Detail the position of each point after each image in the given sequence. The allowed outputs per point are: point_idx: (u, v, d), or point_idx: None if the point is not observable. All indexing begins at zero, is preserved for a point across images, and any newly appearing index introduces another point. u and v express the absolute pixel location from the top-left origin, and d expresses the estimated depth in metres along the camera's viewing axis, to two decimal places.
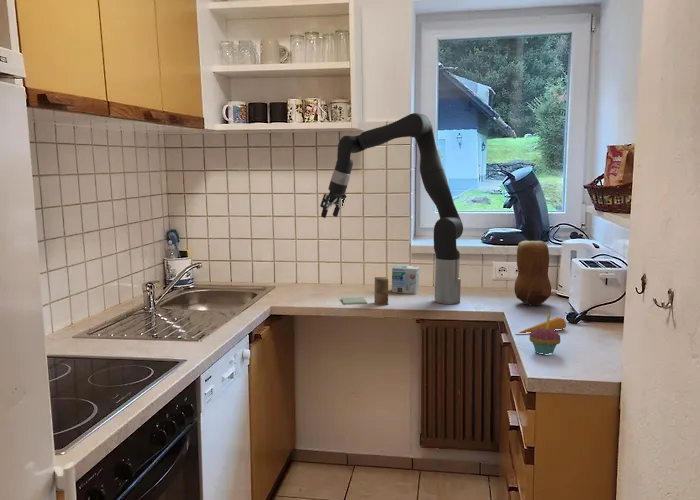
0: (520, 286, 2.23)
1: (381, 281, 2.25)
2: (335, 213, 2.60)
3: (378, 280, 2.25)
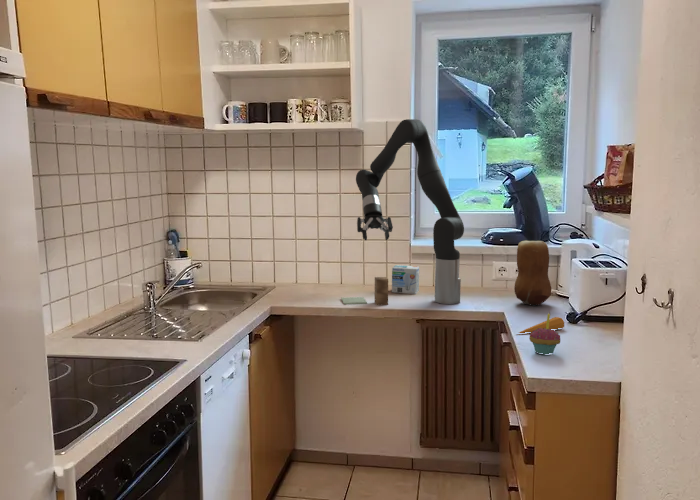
0: (520, 286, 2.23)
1: (381, 281, 2.25)
2: (385, 236, 2.38)
3: (378, 280, 2.25)
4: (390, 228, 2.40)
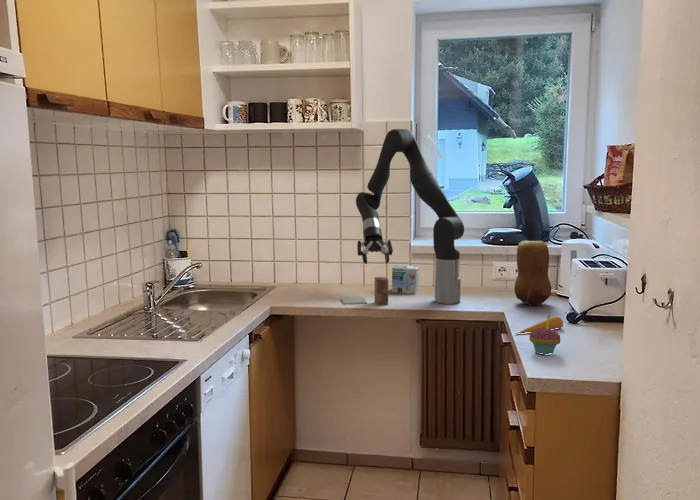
0: (520, 286, 2.23)
1: (381, 281, 2.25)
2: (385, 259, 2.39)
3: (378, 280, 2.25)
4: (390, 251, 2.41)
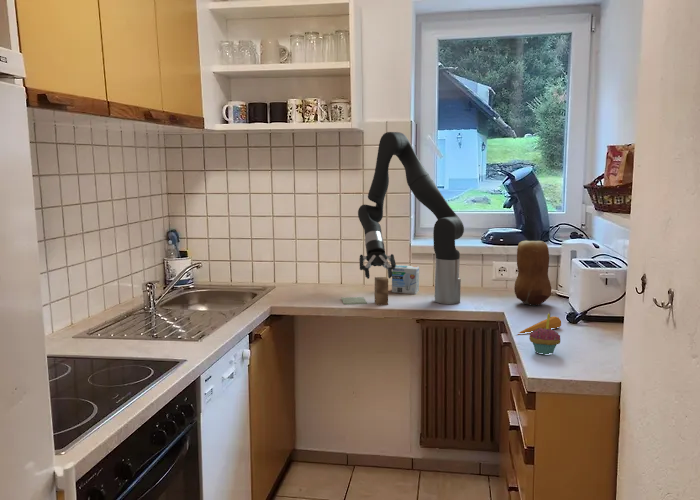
0: (520, 286, 2.23)
1: (381, 281, 2.25)
2: (388, 274, 2.33)
3: (378, 280, 2.25)
4: (393, 266, 2.35)
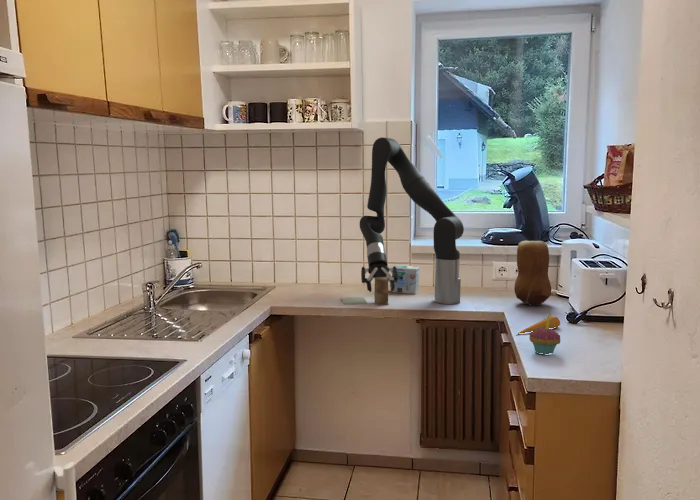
0: (520, 286, 2.23)
1: (381, 281, 2.25)
2: (391, 287, 2.29)
3: (378, 280, 2.25)
4: (395, 279, 2.30)
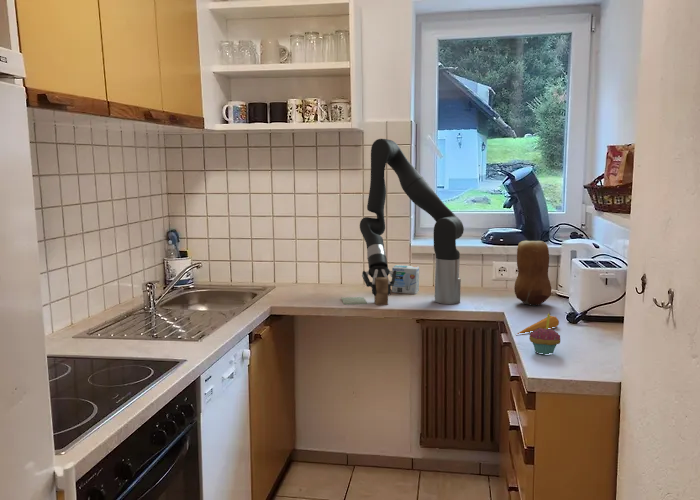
0: (520, 286, 2.23)
1: (381, 281, 2.25)
2: None
3: (378, 280, 2.25)
4: (392, 282, 2.29)
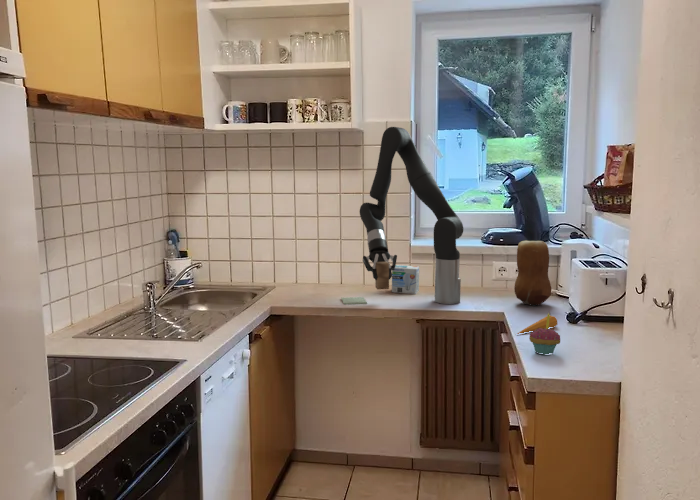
0: (520, 286, 2.23)
1: (381, 265, 2.24)
2: None
3: (378, 264, 2.24)
4: (393, 266, 2.28)
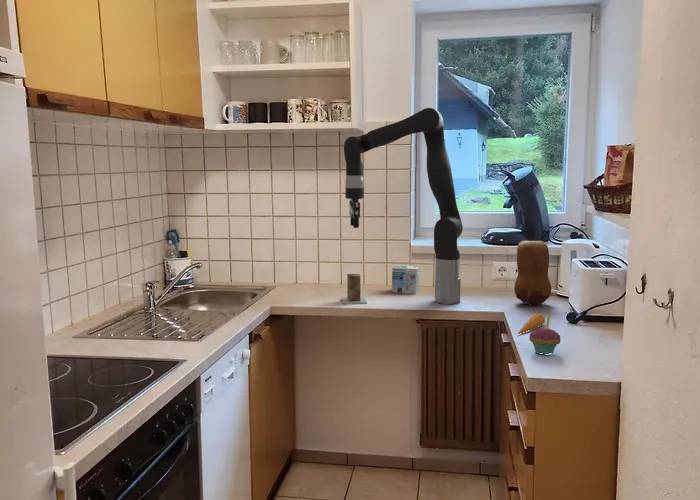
0: (520, 286, 2.23)
1: (353, 277, 2.29)
2: None
3: (350, 276, 2.29)
4: None
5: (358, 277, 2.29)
